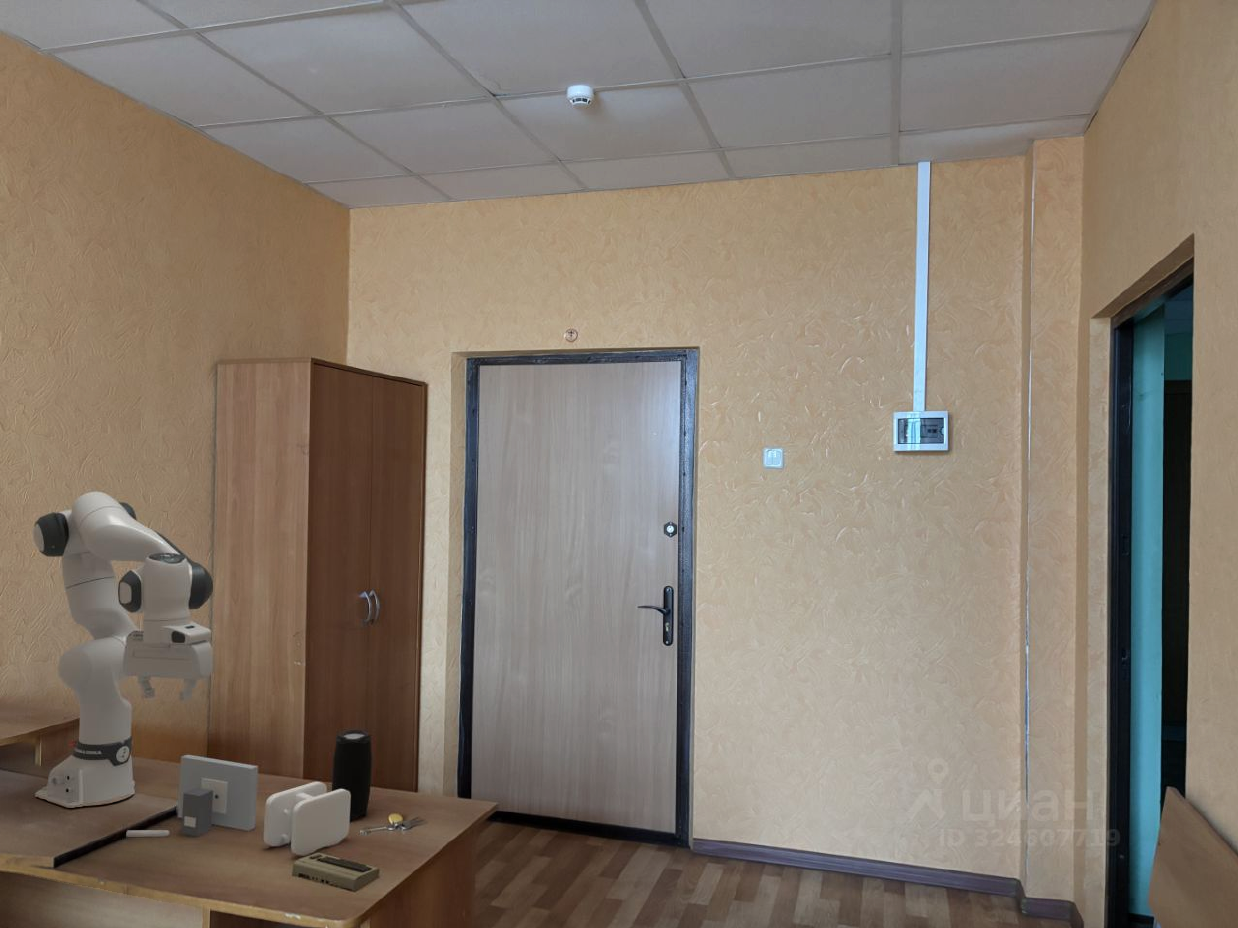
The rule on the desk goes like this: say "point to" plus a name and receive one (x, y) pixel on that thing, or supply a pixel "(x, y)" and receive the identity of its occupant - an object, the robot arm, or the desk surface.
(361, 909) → the desk surface
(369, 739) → the portable speaker
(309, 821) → the organizer
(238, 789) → the outlet plate
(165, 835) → the white rod
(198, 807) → the block
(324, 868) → the computer
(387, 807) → the desk surface
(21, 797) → the desk surface
